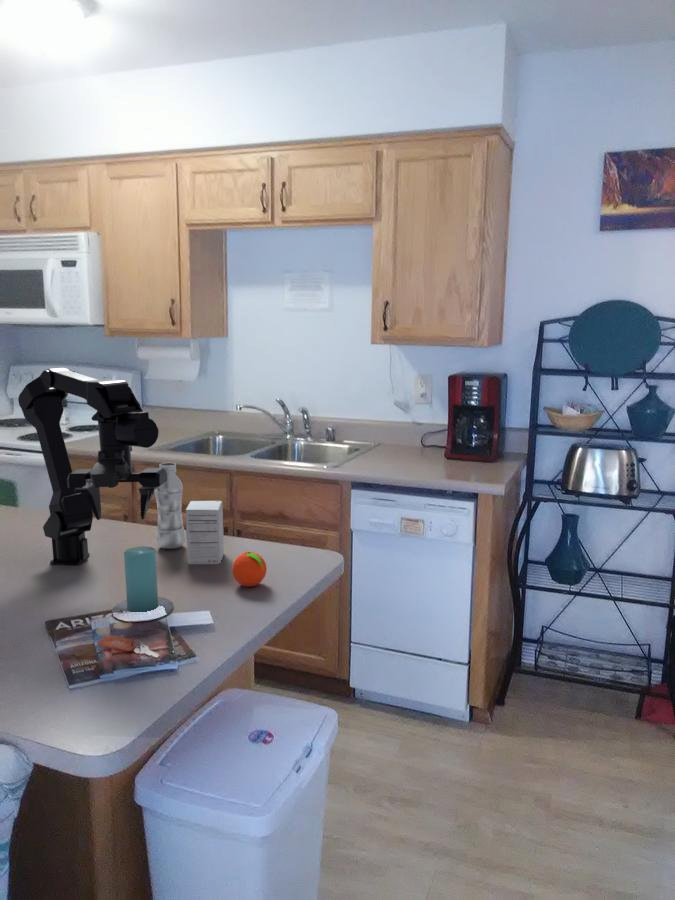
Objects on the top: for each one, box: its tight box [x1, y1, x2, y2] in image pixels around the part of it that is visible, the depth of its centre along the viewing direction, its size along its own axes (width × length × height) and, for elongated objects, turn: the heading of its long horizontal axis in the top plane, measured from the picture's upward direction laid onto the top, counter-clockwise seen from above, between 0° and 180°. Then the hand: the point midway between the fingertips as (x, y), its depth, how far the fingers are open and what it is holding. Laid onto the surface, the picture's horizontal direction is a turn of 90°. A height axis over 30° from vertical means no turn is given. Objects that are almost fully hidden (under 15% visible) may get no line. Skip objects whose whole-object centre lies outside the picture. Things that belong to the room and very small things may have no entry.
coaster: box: [111, 596, 174, 615], centre depth 133 cm, size 11×11×1 cm
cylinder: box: [123, 546, 159, 612], centre depth 132 cm, size 6×6×11 cm
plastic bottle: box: [154, 462, 187, 550], centre depth 166 cm, size 6×7×20 cm
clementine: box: [231, 551, 268, 588], centre depth 144 cm, size 8×7×7 cm
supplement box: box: [185, 500, 225, 565], centre depth 159 cm, size 7×7×13 cm
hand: (121, 519), depth 145 cm, fingers open, 9 cm apart
